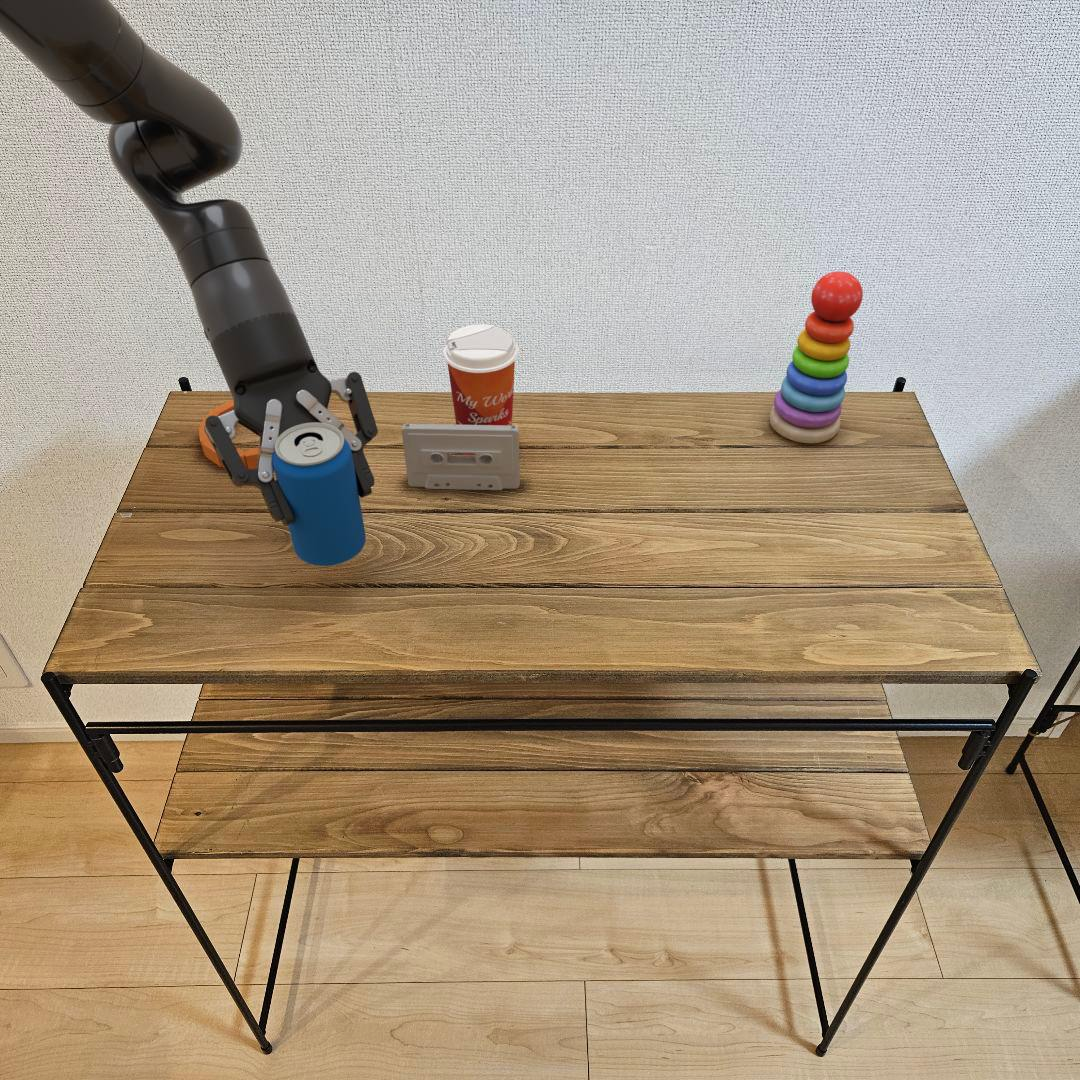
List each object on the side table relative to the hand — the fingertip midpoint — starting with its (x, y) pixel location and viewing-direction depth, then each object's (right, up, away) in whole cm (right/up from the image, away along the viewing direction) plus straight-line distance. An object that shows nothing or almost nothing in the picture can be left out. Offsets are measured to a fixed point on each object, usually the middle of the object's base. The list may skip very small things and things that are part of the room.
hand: (328, 508), depth 76 cm
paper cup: (+12, +7, +23) cm, 27 cm away
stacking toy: (+49, +10, +27) cm, 57 cm away
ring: (-14, +9, +25) cm, 30 cm away
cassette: (+10, +3, +19) cm, 22 cm away
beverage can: (-1, -4, +5) cm, 6 cm away
